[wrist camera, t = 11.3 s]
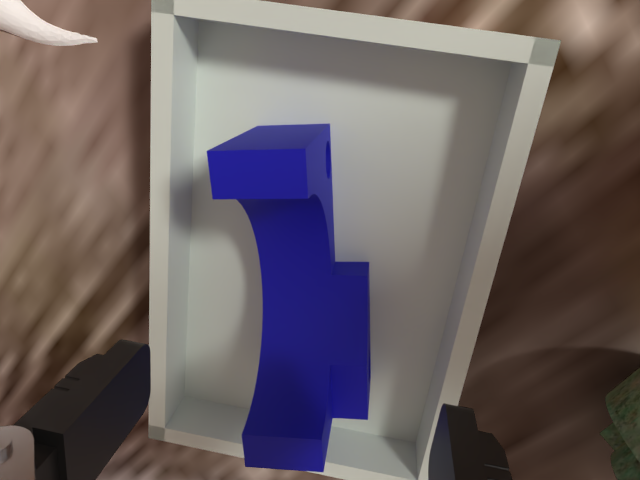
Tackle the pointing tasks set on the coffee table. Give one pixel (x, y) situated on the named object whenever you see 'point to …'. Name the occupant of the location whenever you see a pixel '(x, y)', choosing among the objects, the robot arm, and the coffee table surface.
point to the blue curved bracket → (298, 295)
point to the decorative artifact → (625, 427)
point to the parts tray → (334, 206)
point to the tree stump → (36, 26)
